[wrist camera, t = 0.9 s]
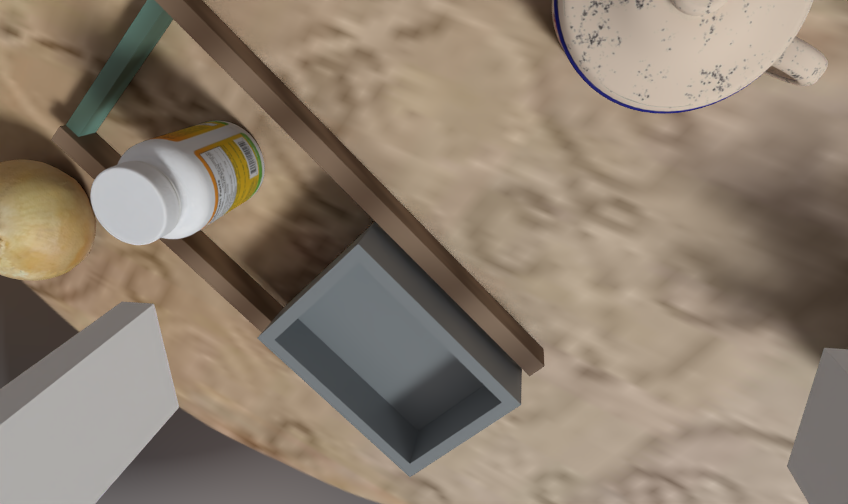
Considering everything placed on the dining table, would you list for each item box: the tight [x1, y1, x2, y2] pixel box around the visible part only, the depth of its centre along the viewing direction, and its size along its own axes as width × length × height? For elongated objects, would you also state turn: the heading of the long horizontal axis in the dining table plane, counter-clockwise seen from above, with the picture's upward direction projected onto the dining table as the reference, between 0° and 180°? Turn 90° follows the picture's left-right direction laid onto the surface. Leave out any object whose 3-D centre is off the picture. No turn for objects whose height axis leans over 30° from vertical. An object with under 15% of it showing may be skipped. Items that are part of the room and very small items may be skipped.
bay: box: [51, 0, 544, 376], centre depth 35 cm, size 32×13×2 cm, turn 45°
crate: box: [258, 222, 522, 477], centre depth 35 cm, size 14×10×4 cm
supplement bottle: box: [90, 120, 264, 245], centre depth 31 cm, size 5×5×10 cm
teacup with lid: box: [552, 0, 828, 113], centre depth 23 cm, size 12×9×12 cm
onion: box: [0, 159, 96, 281], centre depth 36 cm, size 8×8×7 cm
